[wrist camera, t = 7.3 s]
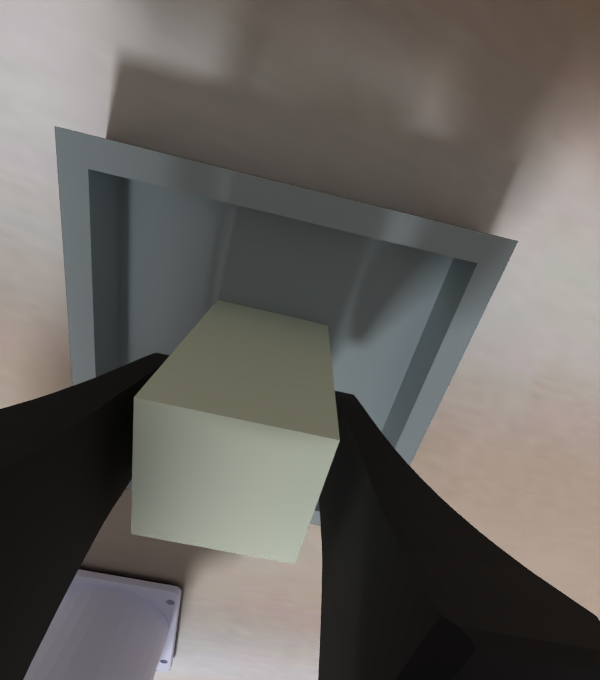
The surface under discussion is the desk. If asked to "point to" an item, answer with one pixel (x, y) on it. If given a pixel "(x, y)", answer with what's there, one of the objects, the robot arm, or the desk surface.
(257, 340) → the sage block
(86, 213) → the tray
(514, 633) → the robot arm
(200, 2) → the desk surface
